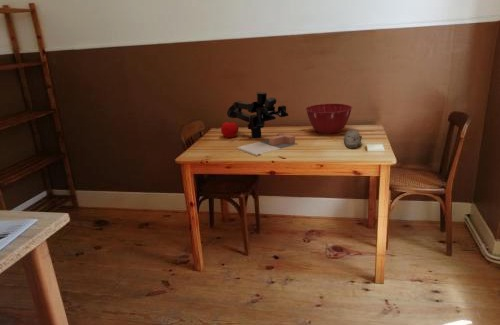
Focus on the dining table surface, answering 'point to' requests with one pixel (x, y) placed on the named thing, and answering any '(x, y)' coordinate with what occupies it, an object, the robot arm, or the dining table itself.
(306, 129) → the dining table surface
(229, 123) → the tomato
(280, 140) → the t block
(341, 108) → the mixing bowl
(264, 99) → the robot arm
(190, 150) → the dining table surface
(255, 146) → the board
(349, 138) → the grey wooden log
